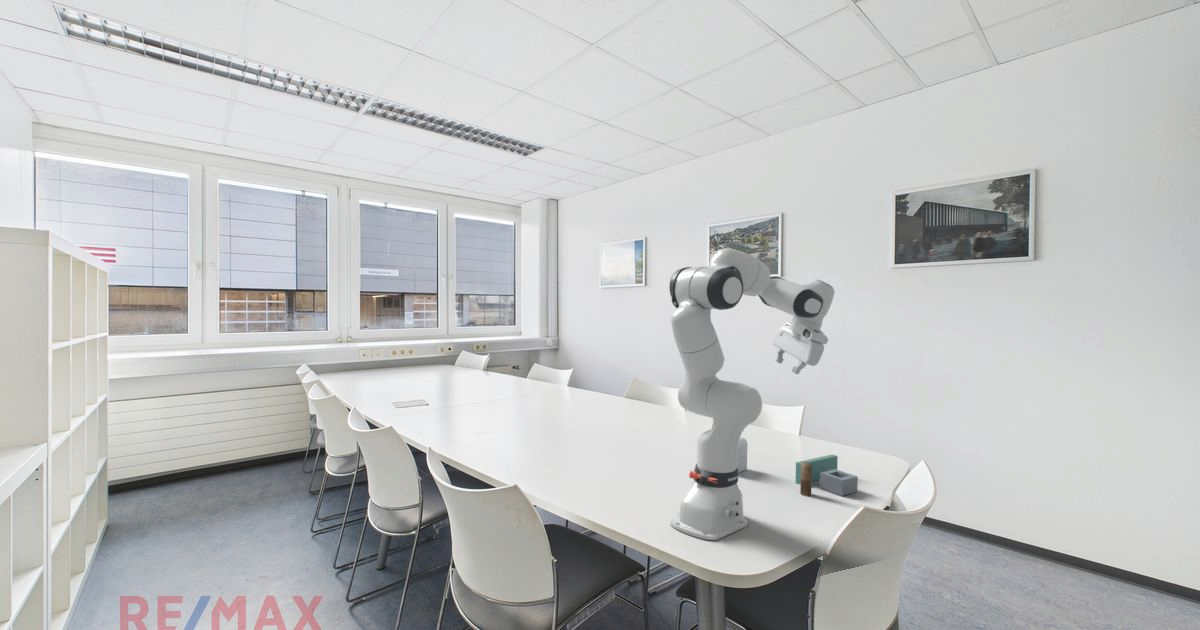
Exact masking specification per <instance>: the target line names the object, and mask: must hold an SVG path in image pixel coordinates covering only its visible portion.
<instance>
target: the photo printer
mask: <svg viewBox="0 0 1200 630" xmlns="http://www.w3.org/2000/svg"><path fill="white" fill-rule="evenodd" d="M737 468H738V473H739V474H740V473H742V472H745V471H746V470H747V468H748V441H747V439H746V438H745V437H741V436H740V438H739V442H738V450H737Z"/></svg>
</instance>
